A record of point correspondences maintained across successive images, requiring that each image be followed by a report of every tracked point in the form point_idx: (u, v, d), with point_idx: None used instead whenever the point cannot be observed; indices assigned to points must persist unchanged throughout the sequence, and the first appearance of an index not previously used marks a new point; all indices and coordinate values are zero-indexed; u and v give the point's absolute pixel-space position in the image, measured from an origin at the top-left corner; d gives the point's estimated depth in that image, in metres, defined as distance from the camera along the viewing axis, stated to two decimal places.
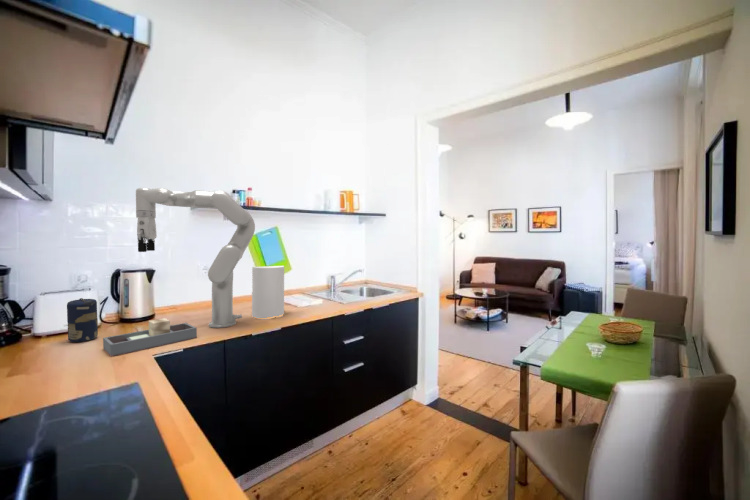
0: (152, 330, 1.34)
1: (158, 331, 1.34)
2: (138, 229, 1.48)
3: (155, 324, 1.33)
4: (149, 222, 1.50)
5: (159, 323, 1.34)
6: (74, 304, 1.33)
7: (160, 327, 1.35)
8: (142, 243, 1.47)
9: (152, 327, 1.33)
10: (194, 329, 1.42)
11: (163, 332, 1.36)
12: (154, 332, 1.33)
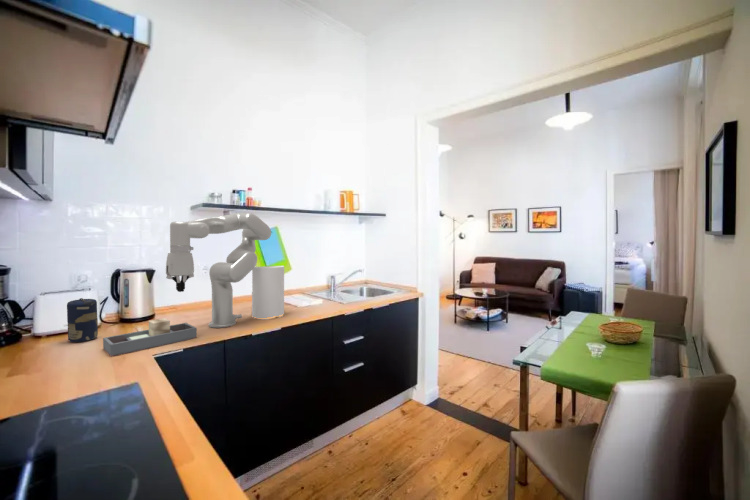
0: (152, 330, 1.34)
1: (158, 331, 1.34)
2: (193, 265, 1.45)
3: (155, 324, 1.33)
4: None
5: (159, 323, 1.34)
6: (74, 304, 1.33)
7: (160, 327, 1.35)
8: None
9: (152, 327, 1.33)
10: (194, 329, 1.42)
11: (163, 332, 1.36)
12: (154, 332, 1.33)
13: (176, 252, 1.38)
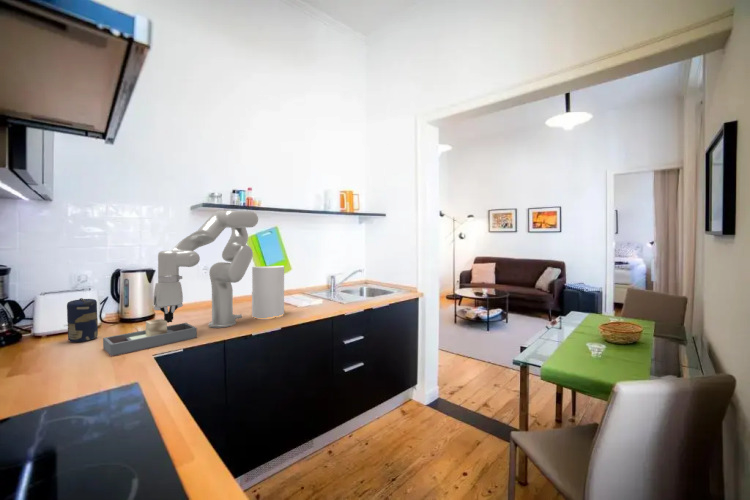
0: (149, 331, 1.33)
1: (155, 332, 1.33)
2: None
3: (152, 325, 1.32)
4: None
5: (156, 324, 1.34)
6: (74, 304, 1.33)
7: (157, 328, 1.34)
8: None
9: (149, 327, 1.33)
10: (194, 329, 1.42)
11: (160, 333, 1.35)
12: (150, 333, 1.32)
13: (164, 283, 1.35)
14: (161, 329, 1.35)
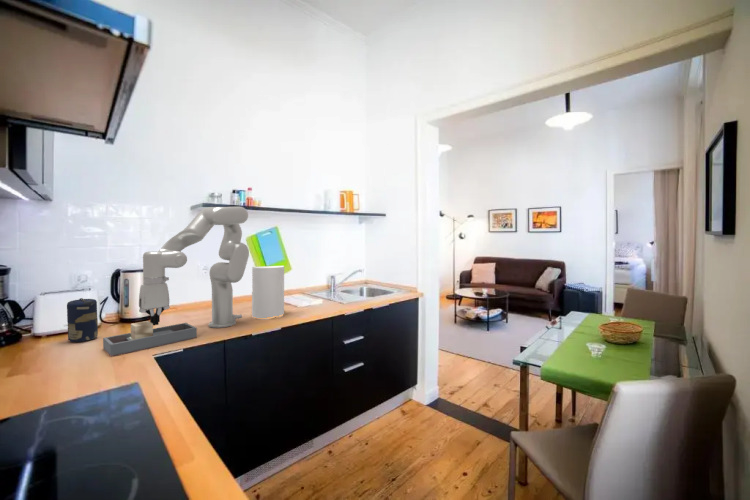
0: (134, 333, 1.29)
1: (140, 334, 1.30)
2: None
3: (137, 327, 1.29)
4: None
5: (141, 326, 1.30)
6: (74, 304, 1.33)
7: (142, 330, 1.30)
8: None
9: (134, 330, 1.29)
10: (194, 329, 1.42)
11: (146, 335, 1.31)
12: (135, 335, 1.28)
13: (149, 284, 1.31)
14: (147, 332, 1.31)
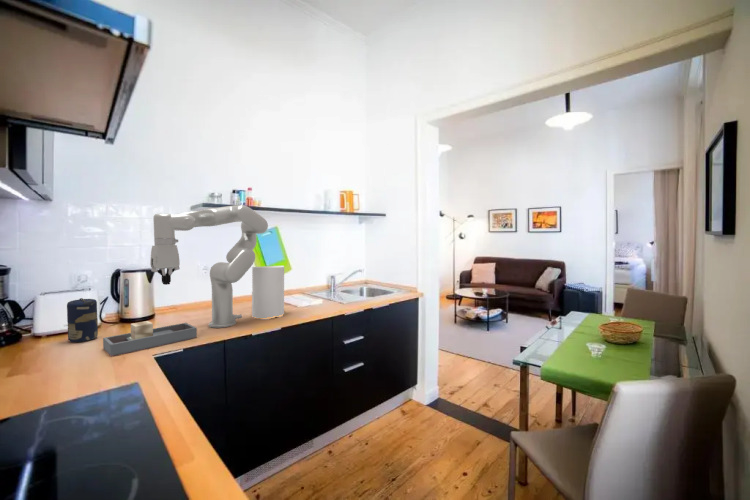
0: (134, 333, 1.29)
1: (140, 334, 1.30)
2: None
3: (137, 327, 1.29)
4: None
5: (141, 326, 1.30)
6: (74, 304, 1.33)
7: (142, 330, 1.30)
8: None
9: (134, 330, 1.29)
10: (194, 329, 1.42)
11: (146, 335, 1.31)
12: (135, 335, 1.28)
13: (161, 245, 1.37)
14: (147, 332, 1.31)
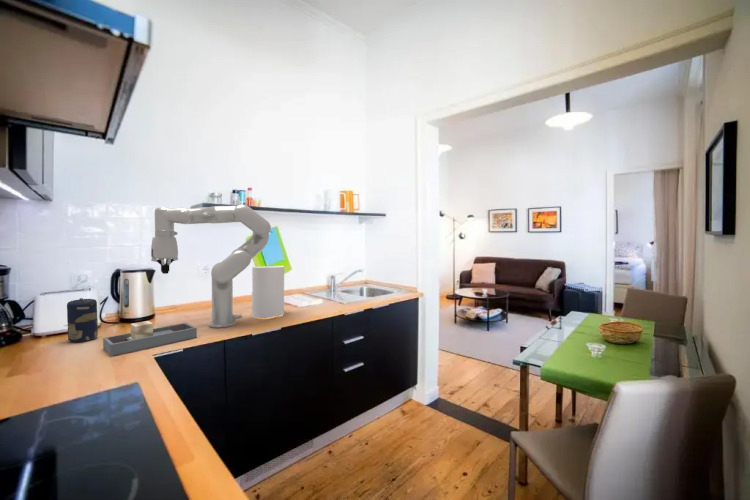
0: (134, 333, 1.29)
1: (140, 334, 1.30)
2: (177, 248, 1.54)
3: (137, 327, 1.29)
4: None
5: (141, 326, 1.30)
6: (74, 304, 1.33)
7: (142, 330, 1.30)
8: None
9: (134, 330, 1.29)
10: (194, 329, 1.42)
11: (146, 335, 1.31)
12: (135, 335, 1.28)
13: (160, 236, 1.47)
14: (147, 332, 1.31)
